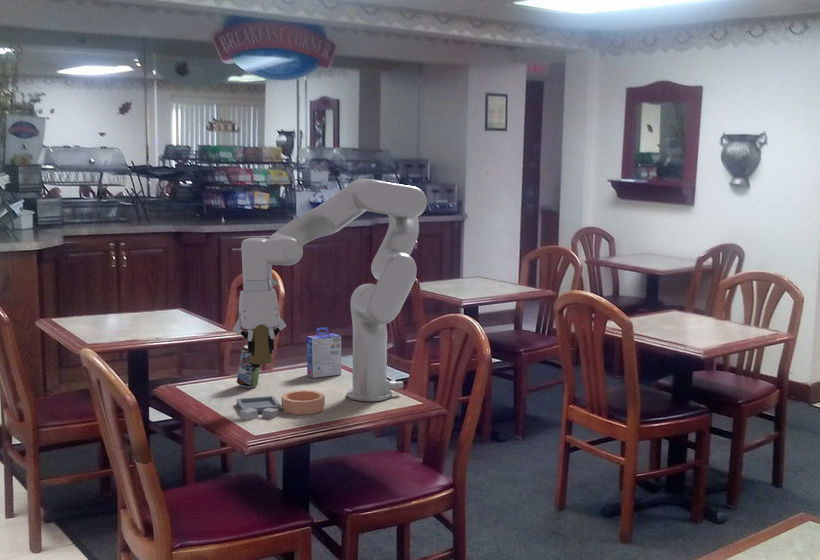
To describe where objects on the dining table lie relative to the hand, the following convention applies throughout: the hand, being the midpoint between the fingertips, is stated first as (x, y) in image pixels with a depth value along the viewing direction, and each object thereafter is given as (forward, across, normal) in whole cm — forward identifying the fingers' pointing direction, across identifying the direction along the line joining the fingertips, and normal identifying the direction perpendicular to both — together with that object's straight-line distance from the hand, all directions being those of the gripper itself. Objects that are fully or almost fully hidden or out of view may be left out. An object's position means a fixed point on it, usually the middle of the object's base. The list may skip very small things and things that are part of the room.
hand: (261, 353), depth 228 cm
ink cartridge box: (+16, -24, -29) cm, 41 cm away
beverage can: (+15, 0, -22) cm, 27 cm away
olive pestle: (+2, 0, 0) cm, 2 cm away
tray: (+15, +1, 0) cm, 15 cm away
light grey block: (+15, +5, +8) cm, 18 cm away
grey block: (+15, 0, +9) cm, 17 cm away
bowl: (+15, -10, +5) cm, 18 cm away
